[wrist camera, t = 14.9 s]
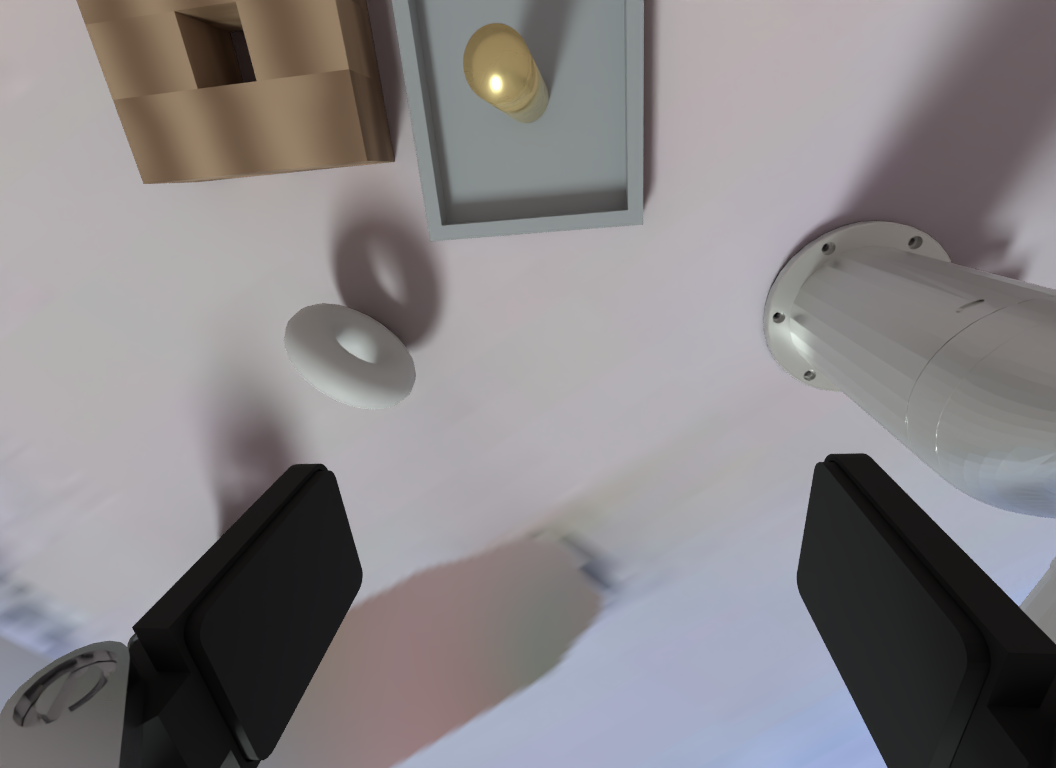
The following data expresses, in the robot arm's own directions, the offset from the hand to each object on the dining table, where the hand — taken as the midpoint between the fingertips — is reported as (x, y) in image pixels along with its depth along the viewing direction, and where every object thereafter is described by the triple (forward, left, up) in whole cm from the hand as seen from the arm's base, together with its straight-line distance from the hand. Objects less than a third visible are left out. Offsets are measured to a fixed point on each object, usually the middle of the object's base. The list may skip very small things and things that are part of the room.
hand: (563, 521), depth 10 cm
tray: (+3, -11, -30) cm, 32 cm away
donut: (+17, +5, -31) cm, 35 cm away
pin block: (+21, -15, -30) cm, 40 cm away
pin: (+3, -11, -30) cm, 32 cm away
